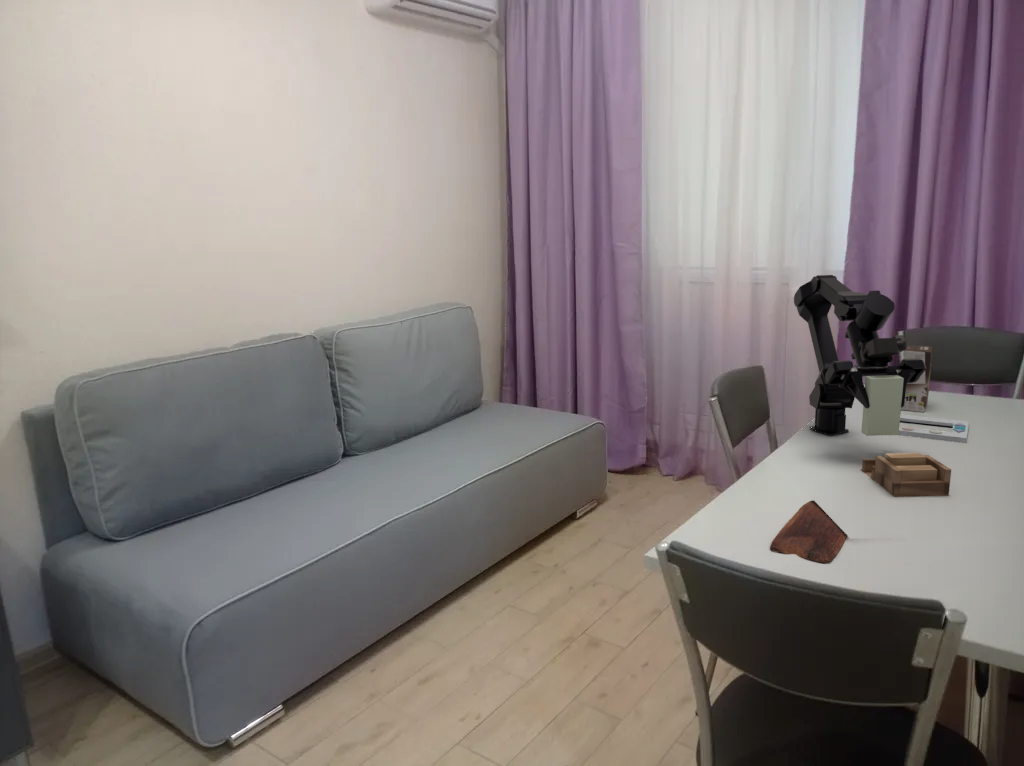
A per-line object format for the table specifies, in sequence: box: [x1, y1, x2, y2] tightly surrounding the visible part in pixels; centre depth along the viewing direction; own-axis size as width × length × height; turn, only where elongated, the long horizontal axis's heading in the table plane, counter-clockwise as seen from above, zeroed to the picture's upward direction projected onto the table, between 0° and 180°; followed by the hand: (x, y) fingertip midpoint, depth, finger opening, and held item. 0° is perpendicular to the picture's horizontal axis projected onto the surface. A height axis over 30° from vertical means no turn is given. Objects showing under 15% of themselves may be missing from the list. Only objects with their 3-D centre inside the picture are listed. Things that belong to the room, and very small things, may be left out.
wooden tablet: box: [769, 500, 848, 564], centre depth 129 cm, size 26×2×10 cm
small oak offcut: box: [896, 465, 937, 481], centre depth 140 cm, size 2×6×4 cm, turn 88°
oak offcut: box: [884, 452, 926, 466], centre depth 144 cm, size 2×6×6 cm, turn 88°
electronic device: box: [898, 414, 970, 444], centre depth 180 cm, size 18×2×15 cm
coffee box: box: [901, 344, 934, 413], centre depth 198 cm, size 9×6×16 cm
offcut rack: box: [859, 454, 952, 498], centre depth 145 cm, size 15×10×6 cm, turn 178°
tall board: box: [860, 375, 904, 437], centre depth 153 cm, size 2×6×12 cm, turn 89°
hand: (885, 407), depth 152 cm, fingers closed on tall board, 6 cm apart
